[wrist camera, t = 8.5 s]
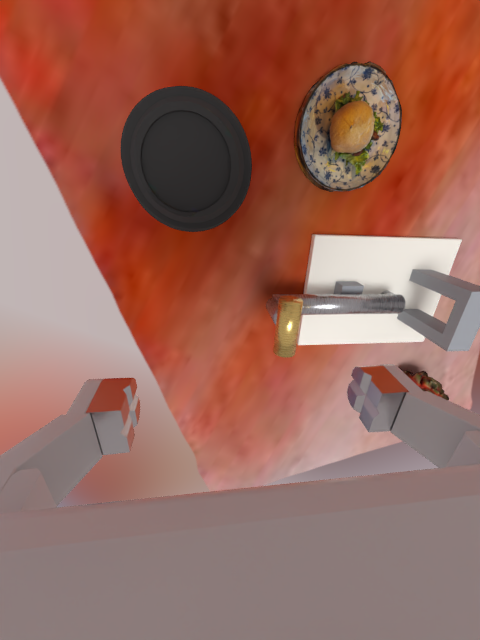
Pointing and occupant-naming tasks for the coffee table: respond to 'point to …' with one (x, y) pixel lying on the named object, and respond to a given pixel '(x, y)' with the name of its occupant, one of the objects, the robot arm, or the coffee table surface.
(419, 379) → the dragon fruit
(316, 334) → the board
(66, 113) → the coffee table surface
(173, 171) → the coffee cup
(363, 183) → the burger
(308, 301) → the hook
